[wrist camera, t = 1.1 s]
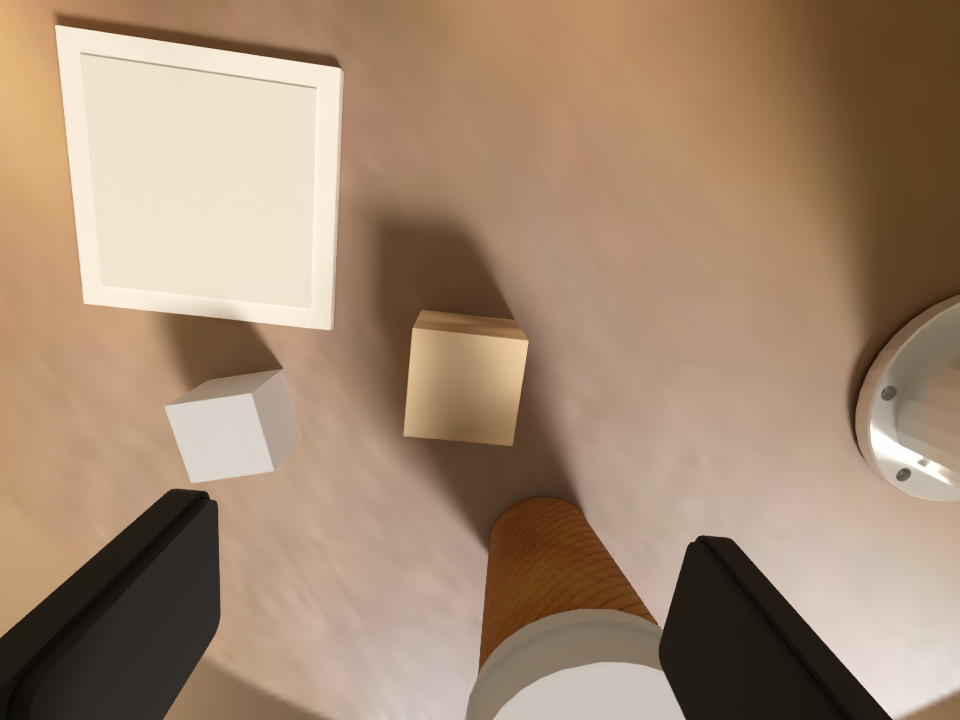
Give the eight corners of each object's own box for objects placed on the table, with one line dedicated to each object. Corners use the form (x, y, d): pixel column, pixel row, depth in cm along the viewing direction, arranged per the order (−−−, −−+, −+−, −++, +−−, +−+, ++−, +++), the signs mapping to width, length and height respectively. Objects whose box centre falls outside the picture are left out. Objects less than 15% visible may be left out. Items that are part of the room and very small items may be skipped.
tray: (343, 72, 21) (339, 67, 20) (333, 327, 24) (329, 330, 23) (66, 30, 20) (53, 23, 19) (93, 301, 23) (82, 303, 22)
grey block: (283, 368, 25) (251, 393, 21) (301, 435, 26) (274, 471, 22) (210, 379, 25) (164, 405, 21) (231, 445, 26) (191, 483, 22)
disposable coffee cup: (456, 601, 29) (455, 843, 17) (470, 466, 27) (480, 645, 15) (602, 607, 30) (694, 845, 18) (629, 476, 27) (755, 655, 16)
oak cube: (514, 319, 24) (528, 340, 20) (502, 406, 26) (512, 446, 21) (421, 309, 24) (412, 327, 19) (413, 397, 25) (403, 436, 21)
